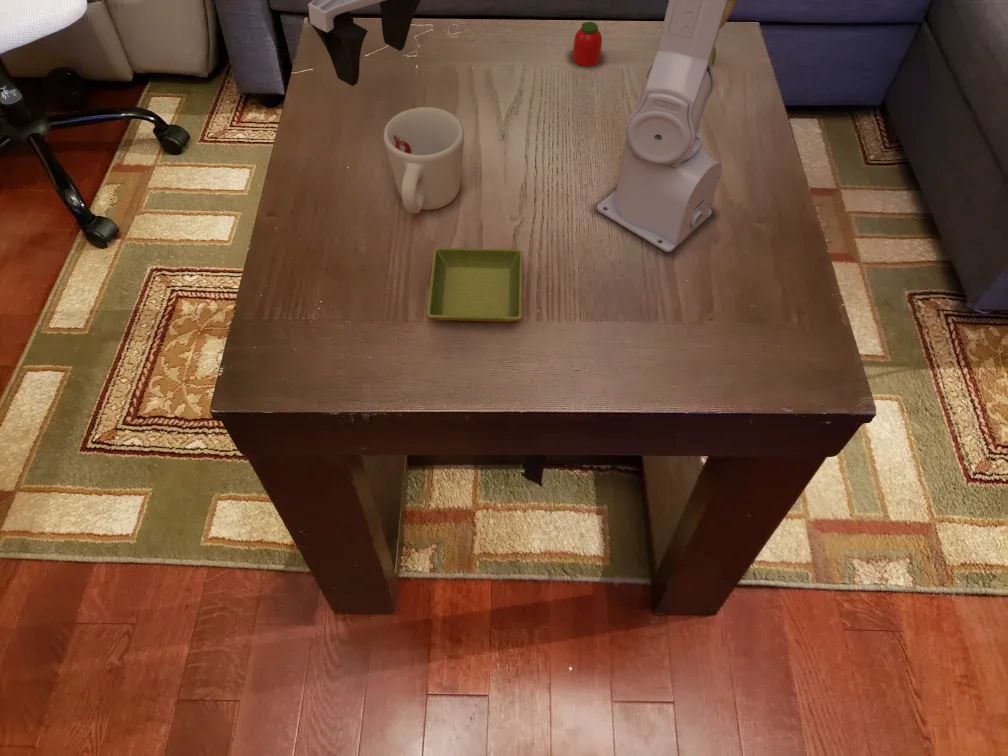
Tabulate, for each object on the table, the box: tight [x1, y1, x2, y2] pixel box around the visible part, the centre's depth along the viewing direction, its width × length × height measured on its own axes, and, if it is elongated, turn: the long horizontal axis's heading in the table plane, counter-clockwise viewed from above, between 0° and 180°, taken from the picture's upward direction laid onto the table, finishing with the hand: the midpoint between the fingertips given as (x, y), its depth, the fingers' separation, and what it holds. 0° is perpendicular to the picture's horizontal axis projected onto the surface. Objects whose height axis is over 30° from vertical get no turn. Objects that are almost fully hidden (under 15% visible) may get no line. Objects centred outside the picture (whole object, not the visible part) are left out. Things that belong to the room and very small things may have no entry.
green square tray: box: [426, 247, 524, 323], centre depth 70 cm, size 9×9×2 cm
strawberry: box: [572, 21, 603, 67], centre depth 92 cm, size 3×3×4 cm
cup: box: [383, 106, 465, 215], centre depth 75 cm, size 11×8×8 cm
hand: (371, 62), depth 76 cm, fingers open, 7 cm apart
